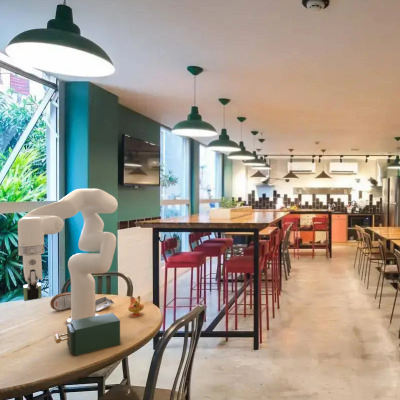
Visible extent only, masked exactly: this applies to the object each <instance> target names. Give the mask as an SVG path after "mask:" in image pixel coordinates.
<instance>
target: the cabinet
mask: <svg viewBox="0 0 400 400" xmlns="http://www.w3.org/2000/svg"><path fill="white" fill-rule="evenodd" d="M71 325H72V327H73V329H74V331H75V353H74V355H75V356H76V357H77V356H81V355H84V354H89V353H92V352H96V351H100V350H105V349H109V348H111V347H117V346H119V345H121V320H120V318H118V316H117V315H116V314H115V313H114V312H109V313H103V314H99V315H98V316H93V317H88V318H82V319H77V320H72V321H71Z"/></svg>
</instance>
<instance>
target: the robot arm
mask: <svg viewBox="0 0 400 400" xmlns="http://www.w3.org/2000/svg"><path fill="white" fill-rule="evenodd" d="M118 207H119V203H118V200H117V198H116V197H115V196H113V195H112V194H110V193H108V192H107V191H105V190H103V189H100V188H76V189H74V190H73V191H71V192H69V193H68V194H67V195H65V196H64V197H62V198H61V199H60V200H58V201H54V202H51V203H48V204H45V205H41V206H39V207H35V208H34V209H32V210H30V211H29V212H27V213H26V214H25V215H24V216H22V218H19V219H18V221H17V241H18V242H17V247H18V248H17V249H18V256H19V257H20V256H22V266H23V267H22V268H23V269H22V270H23V275H24V280H25V282H26V283H27V284H26V285H28V289H27V299H28V300H29V301H34V300H33V299H35V300H38V298H39V291H38V283H39V281H42V280H43V265H42V264H43V263H42V261H43V260H42V255H43V254H45V235H55V234H58V233H60V232H61V231H62V230H63V228H64V226H65V222H64V220H65V219H69V218H72V217H74V216H76V215H77V214H78V213H79V212H80V213H81V215H82V219H83V227H82V229H81V233H80V236H79V240H78V243H77V244H78V245H77V246H78V249H79V250H80V251H82V252H79V253H75V254H72V256H70V257H69V259H68V261H67V268H68V272H69V276H70V292H71V308H70V317H68V318H67V320H66V323H67V324H71V321H72V320H77V319H82V318H88V317H93V316H98V315H100V314H99V313H98V312H97V313H96V311H95V300H96V280H95V278H94V276H93V275H92V274H105V273H107V272H109V270H110V269H111V267H112V264H113V260H114V256H115V251H116V248H117V237H116V235H115V234H114V233H113V232H110V231H104V228H105V223H104V220H103V218H102V217H101V216H100V215H99V214H113V213H115V212H116V211H117V209H118ZM38 280H39V281H38Z"/></svg>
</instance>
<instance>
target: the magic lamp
mask: <svg viewBox="0 0 400 400" xmlns="http://www.w3.org/2000/svg"><path fill="white" fill-rule="evenodd" d="M129 298H130V300H129V301H130V305H129V306H128V311H129V312H130V313H132V314H130V318H137V317H141V316H142V315H143V314H142V313H140V312H141V311H143V310H144V308H145V305H144V304H142V303H141V296H140V295H138V296H137V300H136V299H135V297H134V296H131V297H129Z"/></svg>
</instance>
